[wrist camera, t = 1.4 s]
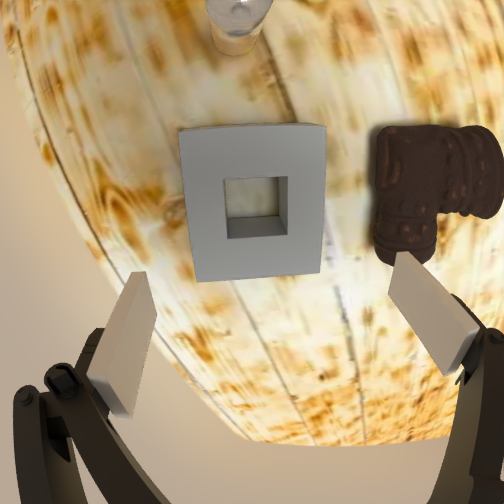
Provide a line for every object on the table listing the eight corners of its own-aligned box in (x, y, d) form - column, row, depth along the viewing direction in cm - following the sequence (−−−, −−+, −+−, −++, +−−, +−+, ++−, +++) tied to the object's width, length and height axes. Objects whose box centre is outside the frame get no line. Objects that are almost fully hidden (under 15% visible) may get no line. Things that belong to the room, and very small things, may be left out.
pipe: (386, 282, 27) (497, 263, 24) (382, 125, 21) (507, 130, 18) (365, 243, 35) (460, 231, 33) (355, 123, 29) (461, 123, 27)
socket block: (186, 128, 26) (178, 132, 21) (310, 123, 26) (326, 125, 22) (200, 257, 32) (196, 282, 28) (307, 249, 33) (319, 272, 28)
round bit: (212, 21, 21) (203, -31, 10) (255, 19, 21) (273, -33, 10) (214, 57, 23) (204, 21, 12) (256, 55, 23) (276, 18, 12)
